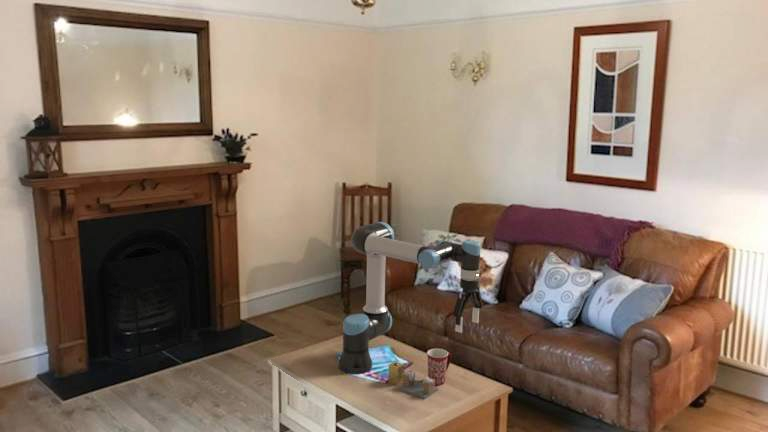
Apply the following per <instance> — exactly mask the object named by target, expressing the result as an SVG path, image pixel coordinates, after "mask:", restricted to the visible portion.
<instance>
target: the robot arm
mask: <svg viewBox="0 0 768 432" xmlns="http://www.w3.org/2000/svg"><path fill="white" fill-rule="evenodd" d="M350 240H351V241H350V242H351V245H352V247H353V249H354V250H355V251H356V252H358V253H361V254H364V255H366V287H365V289H366V293H365V295H366V296H365V297H366V298H365V305H364V306H363V307H362V313H355V314H354V313H353V314H350V315H348V316H346V317H345V318H344V320H343V324H342V325H343V326H342V352H341V355H340V358H339V360H338V368H339V369H340V370H341V371H342V372H345V373H349V374H364V373H366V372H367V373H368V372H369V371H371V370H372V368H373V360H372V358H371V355H370V352H369V348H370V347H369V342H370V341H372V340H374V339H376V338H377V337H381V336H382V335H385V334H386V333H387V332H389V331H390V329H391V328H392V325H393V317H392V315H391V313H390V311H389V310H388V307H387V305H385V302H386V299H385V297H386V296H385V295H386V264H387V263H386V260H387V258H386V257H388V258H392V259H397V260H401V261H404V262H405V261H406V262H410V263H414V264H419V265H420V266H421V267H422V268H423V269H427V270H430V269H434V268H436V267H438V266H440V265H443V264H445V263H447V262H448V263H449V262H456V263H460V274H459V275H460V276H459V277H460V279H459V286H460V289H462V291H461V292H458V293H457V299H456V302H455V306H454V308H453V312H452V317H455V328H454V330H455V332H457V333H460V334H461V333H462V332H463V320H464V318H463V314H464V311H465V309H466V307H467V305H468V304H469V302H471V303H472V305H473V307H472V316H471V317H472V318H471V323H476V324H479V320H480V319H479V317H480V309H482V308H483V299H482V296H481V291H480V288H481V287H480V286H479V285H480V284H479V283H480V281H479V278H480V263H481V261H480V260H481V244H480V242H479V241H476V240H463V241H462V242H461V243H457V242H452V241H448V240H439V241H437V243H435V246H433V247H431V246H426V245H421V244H417V243H412V242H407V241H402V240H398V239H395V231H394V230H393V228H392V227H391V226H390V225H389V224H388V223H387V222H384V221H378V222H377V221H375V222H373V223H370V224H366V225H362V226H359V227H357V228H356V229H355V230H354V231H353V232H352V235H351V238H350Z"/></svg>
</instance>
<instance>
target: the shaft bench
mask: <svg viewBox="0 0 768 432" xmlns="http://www.w3.org/2000/svg"><path fill="white" fill-rule="evenodd" d="M398 389H399V390H400V391H402V392H404V393H408V394H410V395H412V396H415V397H418V398H420V399H423V400H426V399H428V398H429V397H430V396H432V395H434V394H435V393H436V392H437V391H439V388H438V387H436V385H435V380H434V379H432V378H429V377H428V376H425V377H424V378H423V380H422V381H419V380H416V372H415V371H411V370H408V371H405V372H404V377H403V382H402V385H401V386H399V388H398Z"/></svg>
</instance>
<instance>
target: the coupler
mask: <svg viewBox="0 0 768 432" xmlns="http://www.w3.org/2000/svg"><path fill="white" fill-rule="evenodd" d="M404 374H405V363H401V362H398V361H395V360H394V361H392V362H391V363H389V364H388V374H387V376H388V377H387V382H388V383H391V384H393V385H396V386H398V385H400V384H403V377H404Z"/></svg>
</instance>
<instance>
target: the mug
mask: <svg viewBox="0 0 768 432" xmlns="http://www.w3.org/2000/svg"><path fill="white" fill-rule="evenodd" d="M426 354H427V374H428V375H427V377H429V378H432V379H434V380H435V386H441V385H444V384H445V382H446V375H447V370H448V368H449V367H450V364H451V360H452V354H451V353H450V352H448V351H447V350H446V349H443V348H432V349H428V350H427V352H426Z"/></svg>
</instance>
